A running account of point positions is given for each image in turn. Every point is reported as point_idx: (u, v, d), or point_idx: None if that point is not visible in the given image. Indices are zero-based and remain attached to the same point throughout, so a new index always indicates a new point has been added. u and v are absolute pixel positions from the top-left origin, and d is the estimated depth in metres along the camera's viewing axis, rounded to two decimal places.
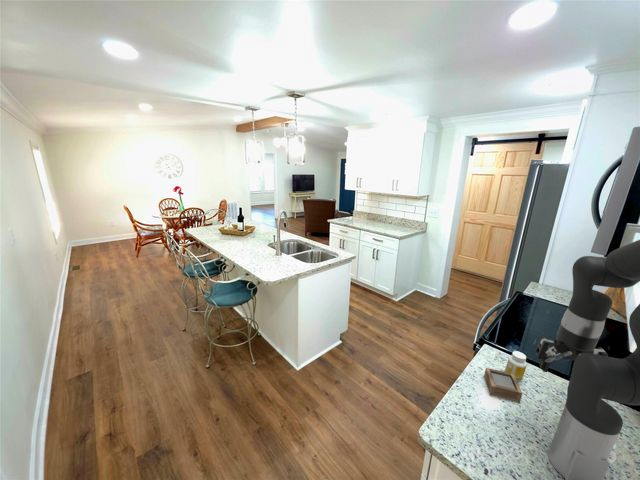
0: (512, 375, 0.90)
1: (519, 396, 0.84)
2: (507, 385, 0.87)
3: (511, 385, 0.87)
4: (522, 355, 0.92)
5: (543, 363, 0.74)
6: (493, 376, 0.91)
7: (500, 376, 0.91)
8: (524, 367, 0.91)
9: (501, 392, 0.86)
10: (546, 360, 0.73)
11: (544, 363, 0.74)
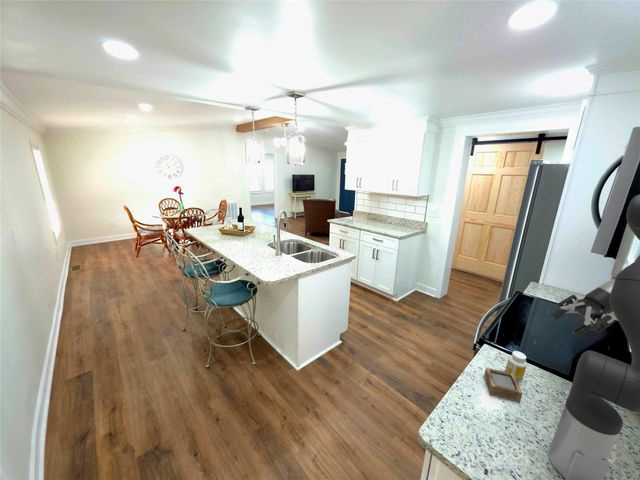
0: (512, 375, 0.90)
1: (519, 396, 0.84)
2: (507, 385, 0.87)
3: (511, 385, 0.87)
4: (522, 355, 0.92)
5: (557, 310, 0.92)
6: (493, 376, 0.91)
7: (500, 376, 0.91)
8: (524, 367, 0.91)
9: (501, 392, 0.86)
10: (561, 306, 0.91)
11: (558, 310, 0.92)
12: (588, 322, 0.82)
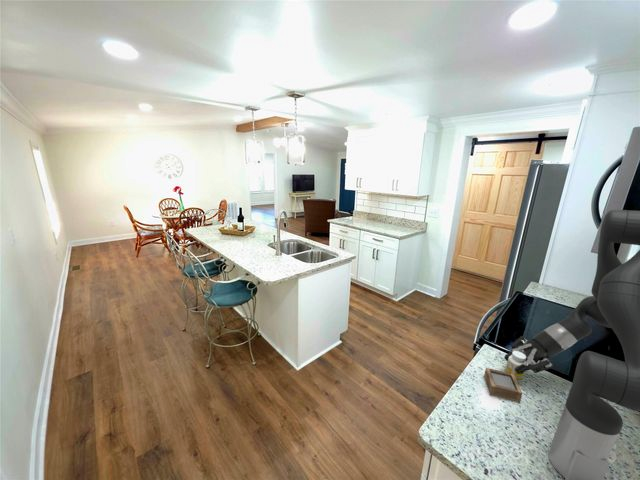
0: (512, 375, 0.90)
1: (519, 396, 0.84)
2: (507, 385, 0.87)
3: (511, 385, 0.87)
4: (522, 355, 0.92)
5: (509, 352, 0.97)
6: (493, 376, 0.91)
7: (500, 376, 0.91)
8: None
9: (501, 392, 0.86)
10: (513, 349, 0.96)
11: (510, 353, 0.97)
12: (528, 363, 0.89)
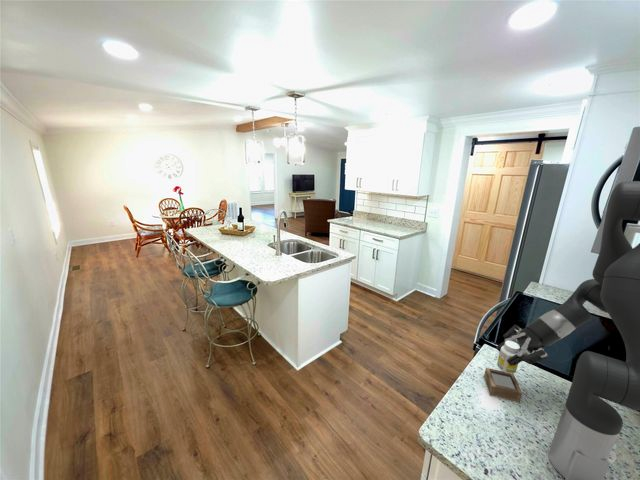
0: (512, 375, 0.90)
1: (519, 396, 0.84)
2: (507, 385, 0.87)
3: (511, 385, 0.87)
4: (515, 345, 0.84)
5: (502, 343, 0.89)
6: (493, 376, 0.91)
7: (500, 376, 0.91)
8: None
9: (501, 392, 0.86)
10: (506, 339, 0.88)
11: (503, 343, 0.89)
12: (522, 353, 0.81)
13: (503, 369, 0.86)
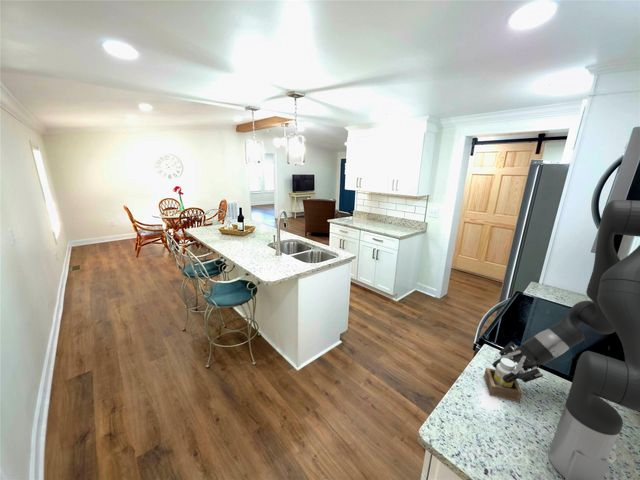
0: None
1: (519, 396, 0.84)
2: None
3: None
4: (511, 362, 0.86)
5: (498, 359, 0.91)
6: None
7: None
8: None
9: (501, 392, 0.86)
10: (502, 356, 0.90)
11: (499, 359, 0.91)
12: (517, 371, 0.83)
13: None
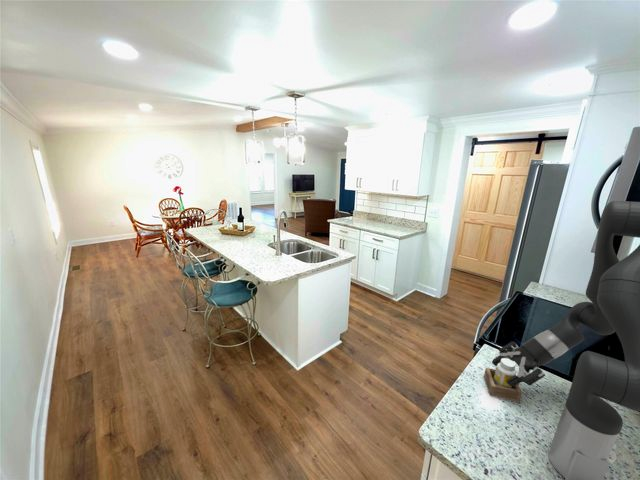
0: None
1: (519, 396, 0.84)
2: None
3: None
4: (511, 362, 0.86)
5: (497, 357, 0.92)
6: None
7: None
8: (513, 375, 0.85)
9: (501, 392, 0.86)
10: (501, 353, 0.92)
11: (498, 357, 0.92)
12: (521, 374, 0.82)
13: None
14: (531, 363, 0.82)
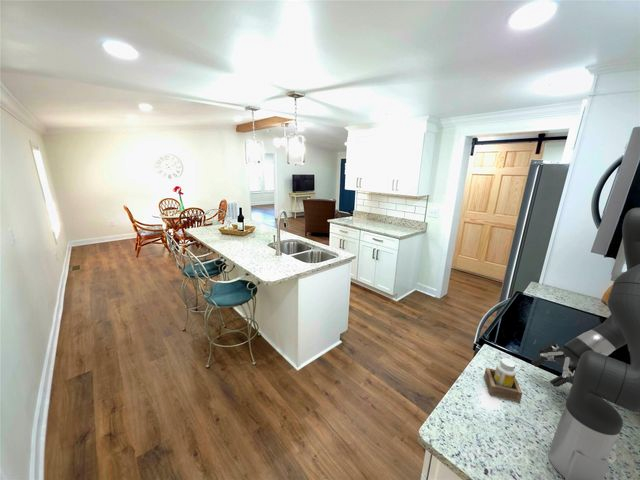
0: None
1: (519, 396, 0.84)
2: None
3: None
4: (511, 362, 0.86)
5: (537, 357, 0.91)
6: None
7: None
8: (513, 375, 0.85)
9: (501, 392, 0.86)
10: (541, 353, 0.90)
11: (538, 357, 0.91)
12: (566, 374, 0.81)
13: None
14: (576, 363, 0.81)
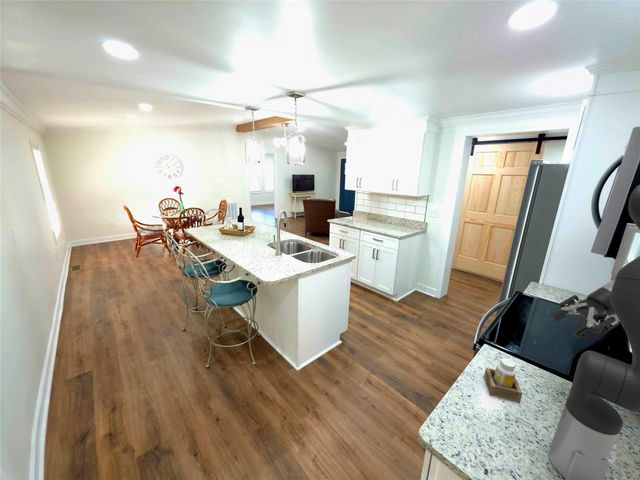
0: None
1: (519, 396, 0.84)
2: None
3: None
4: (511, 362, 0.86)
5: (558, 311, 0.87)
6: None
7: None
8: (513, 375, 0.85)
9: (501, 392, 0.86)
10: (562, 307, 0.87)
11: (559, 311, 0.87)
12: (591, 324, 0.77)
13: None
14: (602, 312, 0.77)
